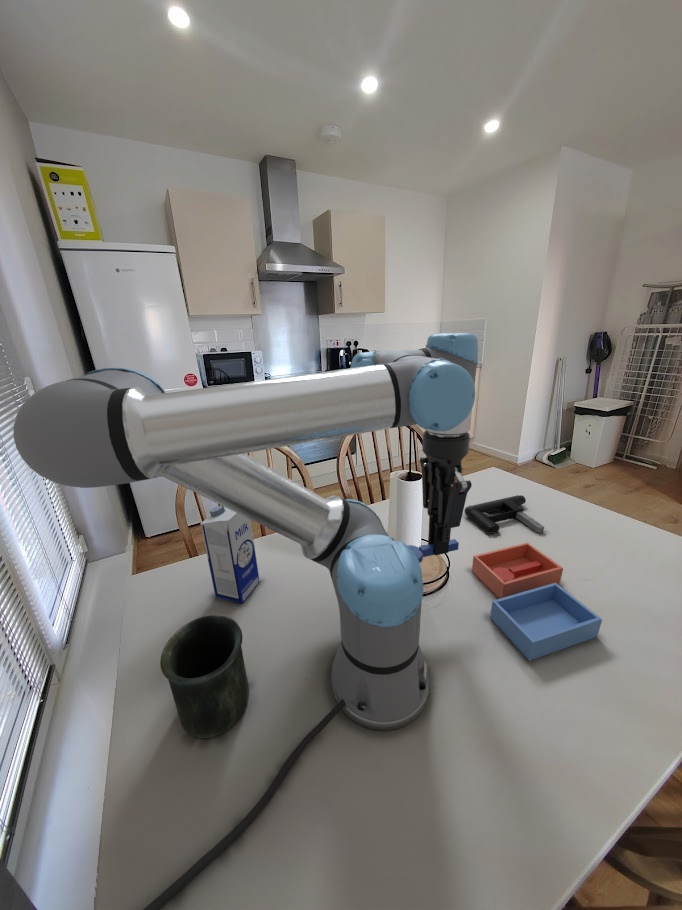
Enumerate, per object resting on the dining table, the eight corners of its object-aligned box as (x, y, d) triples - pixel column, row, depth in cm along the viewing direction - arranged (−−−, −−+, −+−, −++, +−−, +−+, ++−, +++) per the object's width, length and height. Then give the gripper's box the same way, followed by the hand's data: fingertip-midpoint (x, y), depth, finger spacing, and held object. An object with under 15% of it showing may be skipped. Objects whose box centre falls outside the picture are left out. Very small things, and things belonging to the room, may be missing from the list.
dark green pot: (172, 757, 48) (152, 694, 43) (183, 664, 61) (169, 609, 56) (255, 729, 50) (244, 668, 46) (248, 646, 64) (239, 592, 59)
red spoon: (531, 562, 81) (532, 556, 80) (546, 574, 77) (547, 568, 76) (487, 574, 78) (487, 568, 77) (501, 587, 74) (501, 581, 73)
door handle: (562, 519, 94) (516, 491, 108) (500, 535, 88) (460, 503, 102) (559, 530, 95) (514, 500, 109) (498, 546, 89) (459, 513, 103)
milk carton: (242, 604, 73) (227, 519, 66) (214, 597, 75) (197, 514, 68) (260, 581, 79) (248, 502, 72) (234, 575, 81) (220, 498, 74)
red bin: (501, 600, 71) (504, 584, 70) (471, 570, 80) (473, 555, 78) (559, 584, 75) (563, 568, 74) (525, 557, 84) (527, 542, 82)
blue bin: (529, 661, 59) (532, 642, 57) (489, 617, 67) (492, 600, 66) (597, 637, 63) (602, 619, 61) (551, 598, 71) (555, 582, 70)
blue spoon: (450, 541, 71) (450, 534, 70) (462, 554, 67) (463, 547, 66) (394, 552, 68) (395, 545, 67) (404, 567, 64) (405, 559, 63)
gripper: (494, 441, 53) (478, 569, 62) (443, 418, 67) (436, 526, 75) (449, 447, 52) (439, 578, 60) (406, 422, 65) (403, 533, 73)
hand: (437, 549), depth 67 cm, fingers closed on blue spoon, 1 cm apart
